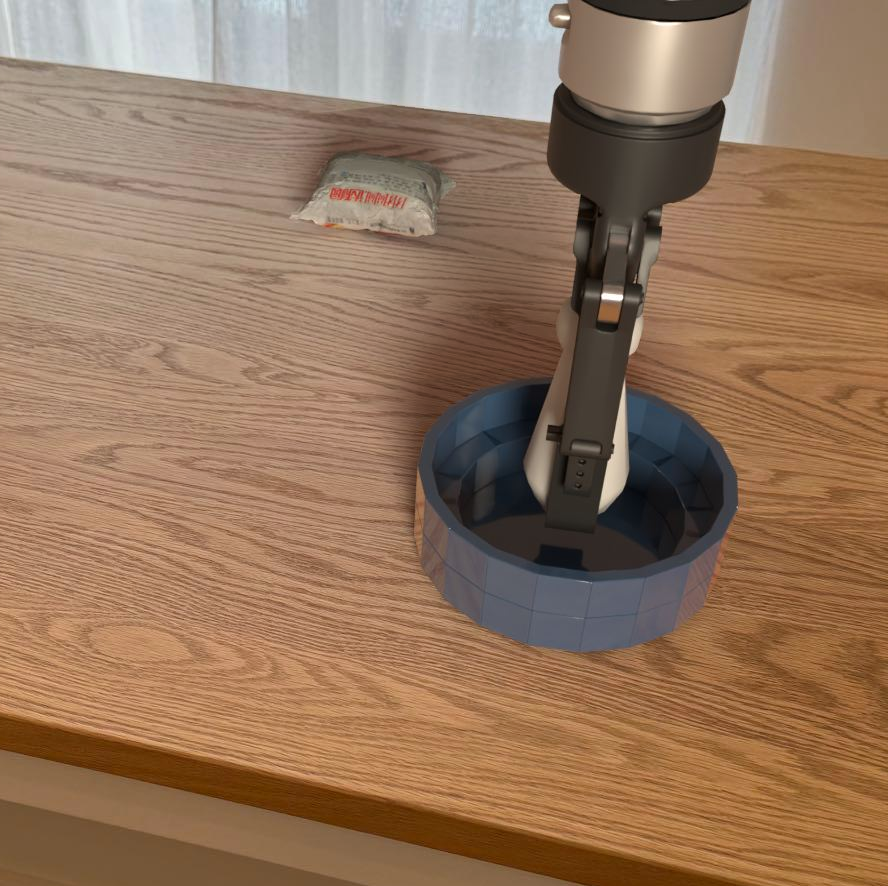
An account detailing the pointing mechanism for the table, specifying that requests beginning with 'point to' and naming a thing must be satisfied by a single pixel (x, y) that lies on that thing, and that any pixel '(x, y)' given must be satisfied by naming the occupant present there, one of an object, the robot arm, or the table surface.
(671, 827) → the table surface
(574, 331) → the cream pestle
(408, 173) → the packaged food
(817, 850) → the table surface
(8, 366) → the table surface
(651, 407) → the bowl
